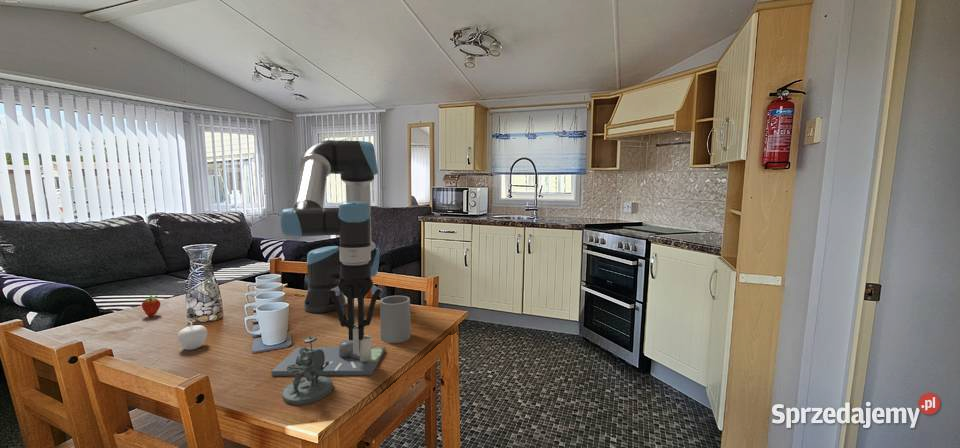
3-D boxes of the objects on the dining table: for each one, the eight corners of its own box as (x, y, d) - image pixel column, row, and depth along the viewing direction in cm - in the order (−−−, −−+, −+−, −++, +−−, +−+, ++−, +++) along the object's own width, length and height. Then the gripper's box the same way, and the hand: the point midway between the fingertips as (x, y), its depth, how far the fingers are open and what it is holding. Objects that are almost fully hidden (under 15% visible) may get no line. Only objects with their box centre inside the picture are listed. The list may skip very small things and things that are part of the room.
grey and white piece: (335, 354, 103) (334, 332, 102) (348, 348, 107) (347, 327, 106) (363, 364, 97) (362, 340, 97) (376, 357, 101) (375, 334, 100)
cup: (376, 342, 115) (375, 303, 114) (387, 330, 124) (386, 295, 123) (405, 343, 114) (404, 305, 112) (414, 332, 123) (413, 296, 121)
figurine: (271, 402, 83) (268, 350, 82) (301, 378, 94) (299, 331, 92) (316, 407, 81) (313, 353, 80) (341, 381, 92) (339, 334, 91)
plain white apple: (174, 354, 107) (172, 327, 106) (183, 344, 113) (181, 318, 112) (204, 350, 109) (202, 323, 108) (211, 340, 116) (209, 315, 115)
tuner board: (297, 351, 109) (297, 346, 108) (385, 350, 109) (384, 346, 109) (271, 375, 95) (271, 370, 94) (371, 375, 95) (371, 370, 95)
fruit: (139, 317, 136) (137, 295, 136) (156, 312, 141) (154, 292, 140) (148, 319, 134) (146, 297, 134) (165, 314, 139) (163, 293, 138)
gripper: (325, 265, 91) (327, 359, 94) (380, 264, 94) (380, 356, 96) (332, 259, 99) (333, 346, 101) (382, 259, 101) (383, 344, 103)
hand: (356, 351), depth 98 cm, fingers closed
